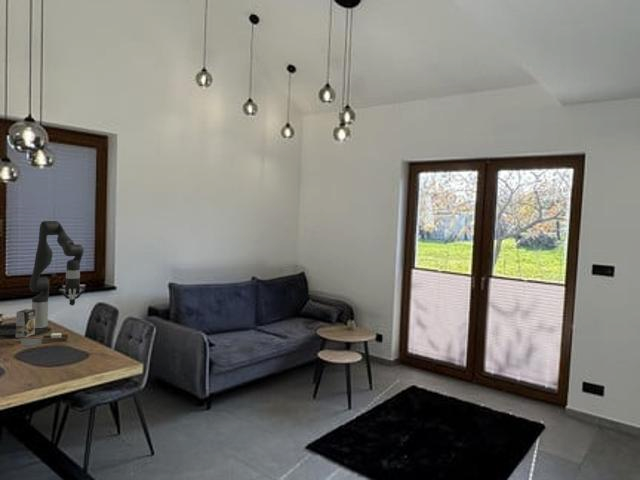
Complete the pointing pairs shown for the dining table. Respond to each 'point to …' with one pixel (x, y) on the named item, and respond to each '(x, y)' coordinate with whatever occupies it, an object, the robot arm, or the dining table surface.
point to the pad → (31, 342)
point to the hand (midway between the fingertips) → (72, 305)
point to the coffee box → (25, 323)
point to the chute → (54, 339)
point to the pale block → (56, 335)
